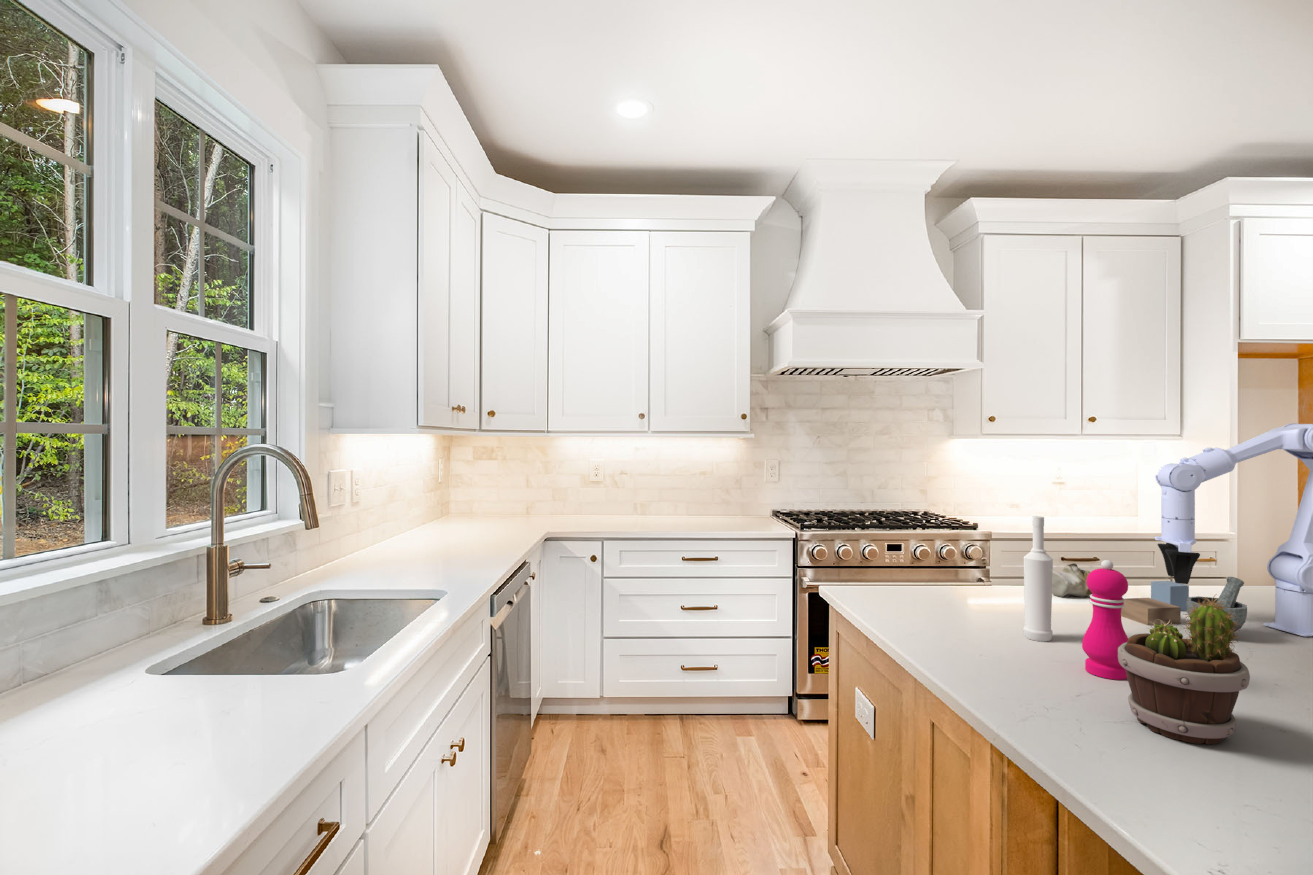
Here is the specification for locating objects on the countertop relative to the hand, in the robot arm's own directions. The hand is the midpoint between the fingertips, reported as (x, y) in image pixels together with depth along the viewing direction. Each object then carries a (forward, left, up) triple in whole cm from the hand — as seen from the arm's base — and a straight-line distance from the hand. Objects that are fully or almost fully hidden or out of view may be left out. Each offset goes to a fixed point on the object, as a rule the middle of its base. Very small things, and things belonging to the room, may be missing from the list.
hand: (1177, 579), depth 140 cm
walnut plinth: (+3, -4, -10) cm, 11 cm away
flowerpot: (+46, +43, -10) cm, 64 cm away
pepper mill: (+39, +23, -10) cm, 47 cm away
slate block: (-10, -11, -10) cm, 18 cm away
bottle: (+37, +4, -10) cm, 39 cm away
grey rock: (+3, -25, -10) cm, 27 cm away
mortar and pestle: (-1, +8, -10) cm, 13 cm away
